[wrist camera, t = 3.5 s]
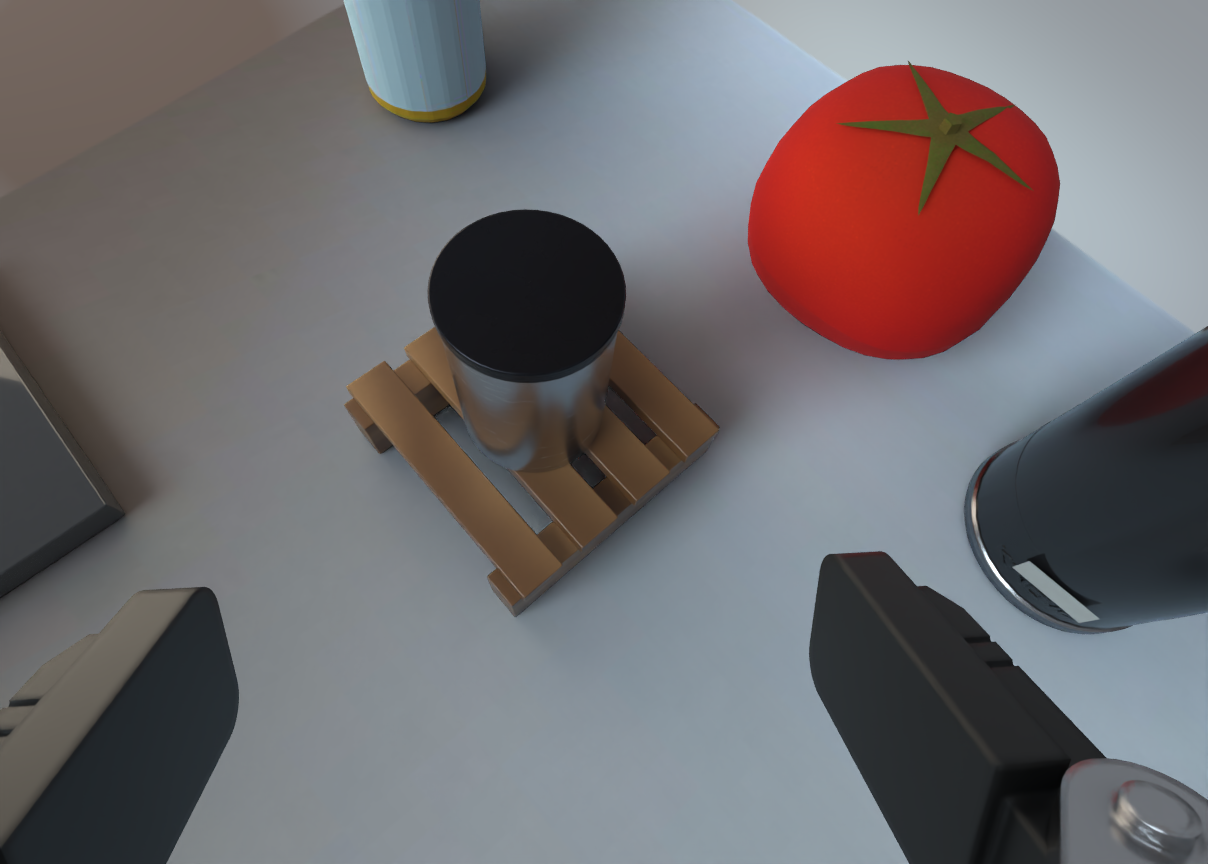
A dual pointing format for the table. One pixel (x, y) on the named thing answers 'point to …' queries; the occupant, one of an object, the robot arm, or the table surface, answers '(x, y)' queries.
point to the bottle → (421, 55)
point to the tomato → (903, 211)
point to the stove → (41, 480)
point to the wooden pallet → (580, 514)
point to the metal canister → (529, 334)
